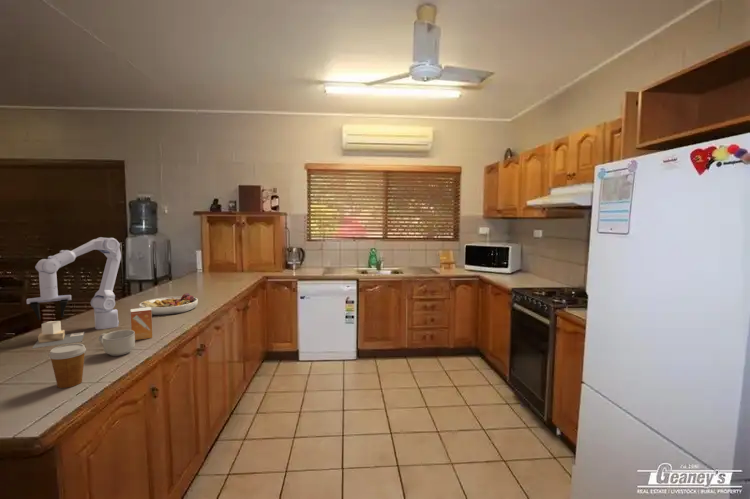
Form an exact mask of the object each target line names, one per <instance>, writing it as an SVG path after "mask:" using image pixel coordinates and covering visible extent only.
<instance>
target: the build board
mask: <svg viewBox="0 0 750 499" xmlns="http://www.w3.org/2000/svg"><path fill="white" fill-rule="evenodd" d="M85 335H86V331H83V332H75V333H74V332H72V333H67V334H66V333H65V337H64V339H63V340H58V341H50V342H43V343H39V340H37V341H36V342H35V343H34V344H33V346H32V349H37V348H38V349H39V348H44V347H45V348H46V347H52V346H62V345H68V344H77V343H81V342H82V341H83V339H84V338H85V337H84V336H85Z"/></svg>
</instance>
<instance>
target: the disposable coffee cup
mask: <svg viewBox="0 0 750 499" xmlns="http://www.w3.org/2000/svg"><path fill="white" fill-rule="evenodd" d="M86 352H87V348H86V347H85V344H83V343H69V344H62V345H58V346H56V347H53V348H52V349H50V351H49V354H48V357H49V359H50V361H51V364H52V369H53V372H54V373H53V374H54V377H55V381H56V386H57V388H59V389H65V388H66V389H67V388H71V387H75V386H77V385H80V384H81V383H83V375H84V374H83V373H84V363H85V353H86Z"/></svg>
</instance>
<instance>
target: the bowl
mask: <svg viewBox="0 0 750 499" xmlns="http://www.w3.org/2000/svg"><path fill="white" fill-rule="evenodd" d="M198 302H199V298H197V297H195V296H193V295H191V294H190V293H189V292H185V293H184V294H182V295H181V296H180V295H179V296H176V295H175V296H166V297H165V296H163V297H158V298H151V299H148V300H144V301H142V302H139V304H138V305H139V308H147V307H151V310H152V316H165V315H175V314H181V313H185V312H189V311H191V310H193V309H195V308H196V307H197V305H198Z"/></svg>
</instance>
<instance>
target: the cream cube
mask: <svg viewBox="0 0 750 499" xmlns="http://www.w3.org/2000/svg"><path fill="white" fill-rule="evenodd" d="M61 330H62V325H61V320H54V321H52V320H50V321H47V322H43V323H41V332H42V334H55V333H58V332H60V331H61Z"/></svg>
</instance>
